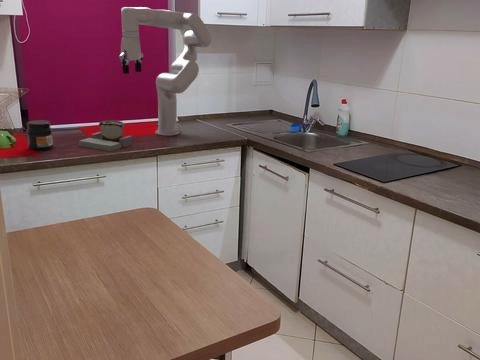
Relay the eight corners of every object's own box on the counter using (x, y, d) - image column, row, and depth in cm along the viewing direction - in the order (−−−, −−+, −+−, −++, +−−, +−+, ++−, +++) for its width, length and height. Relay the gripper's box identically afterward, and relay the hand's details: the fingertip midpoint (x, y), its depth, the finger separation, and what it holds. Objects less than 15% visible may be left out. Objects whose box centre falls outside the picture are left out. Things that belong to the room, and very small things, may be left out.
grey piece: (101, 139, 235) (101, 131, 234) (132, 144, 228) (131, 136, 227) (79, 145, 221) (78, 137, 220) (111, 151, 214) (110, 142, 213)
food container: (128, 141, 232) (128, 121, 229) (124, 144, 226) (123, 123, 223) (104, 139, 234) (103, 119, 230) (99, 142, 228) (98, 121, 225)
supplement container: (55, 149, 213) (53, 123, 209) (30, 152, 208) (28, 125, 204) (50, 144, 221) (48, 119, 218) (26, 146, 216) (23, 120, 212)
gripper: (135, 34, 231) (136, 70, 236) (112, 35, 216) (114, 73, 221) (148, 35, 228) (149, 71, 234) (125, 36, 213) (127, 74, 219)
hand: (132, 72), depth 227 cm, fingers open, 9 cm apart
